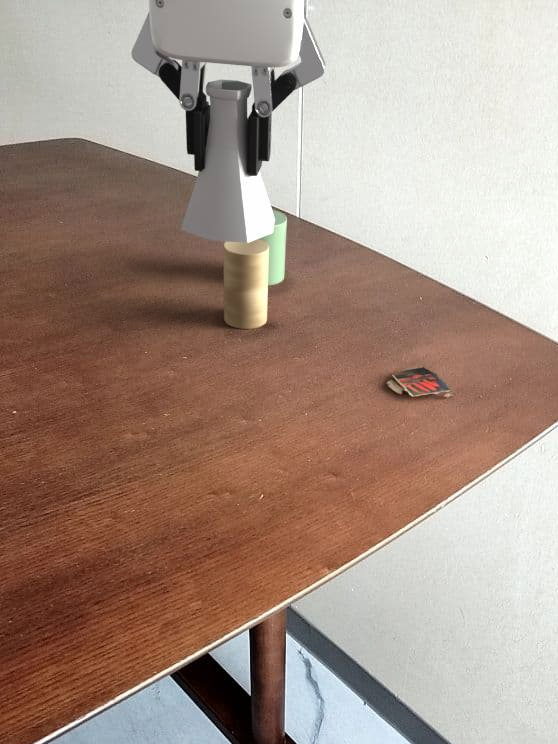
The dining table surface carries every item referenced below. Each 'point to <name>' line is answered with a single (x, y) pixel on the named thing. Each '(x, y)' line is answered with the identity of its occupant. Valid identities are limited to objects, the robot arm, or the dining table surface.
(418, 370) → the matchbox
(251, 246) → the birch peg
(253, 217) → the flask
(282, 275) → the mint green cylinder
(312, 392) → the dining table surface
